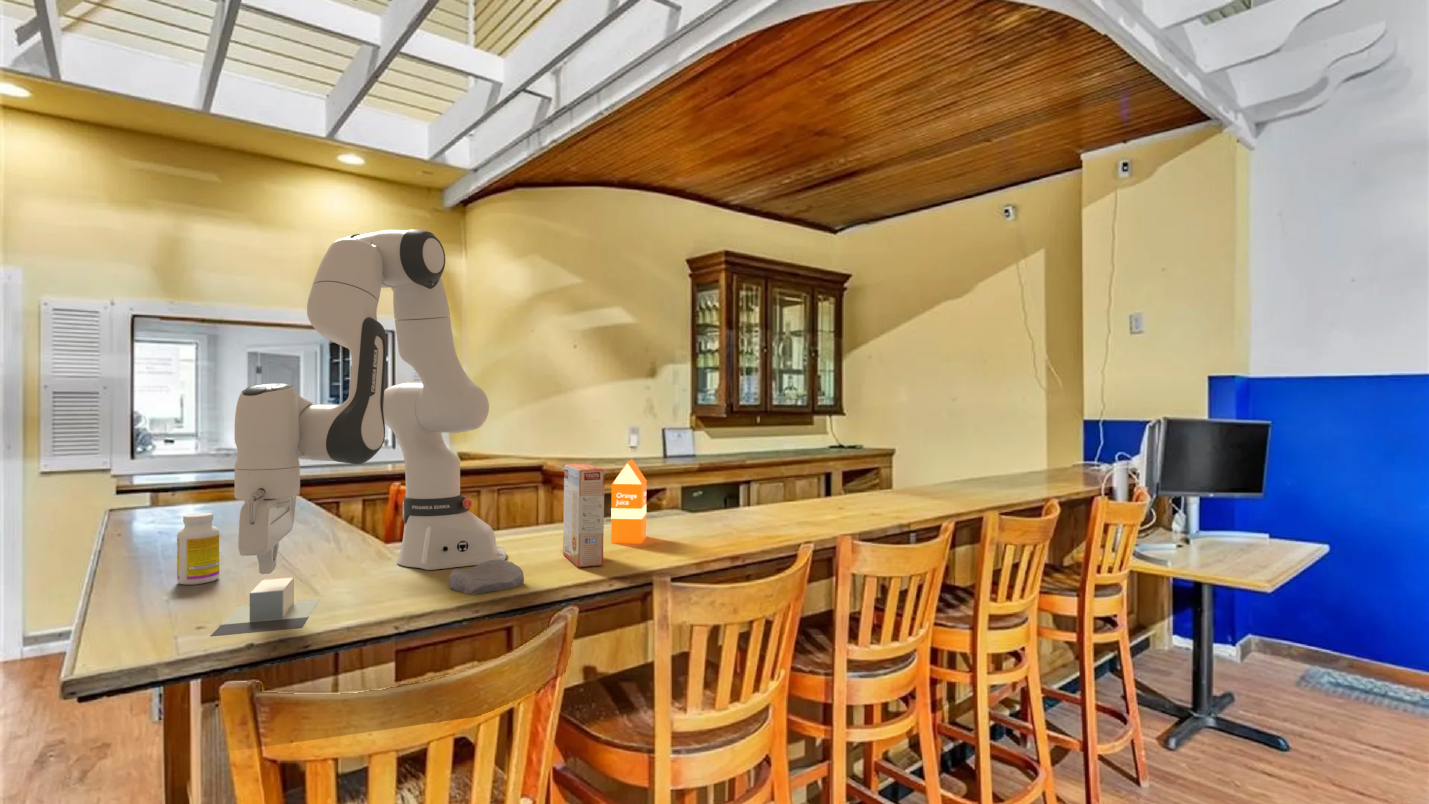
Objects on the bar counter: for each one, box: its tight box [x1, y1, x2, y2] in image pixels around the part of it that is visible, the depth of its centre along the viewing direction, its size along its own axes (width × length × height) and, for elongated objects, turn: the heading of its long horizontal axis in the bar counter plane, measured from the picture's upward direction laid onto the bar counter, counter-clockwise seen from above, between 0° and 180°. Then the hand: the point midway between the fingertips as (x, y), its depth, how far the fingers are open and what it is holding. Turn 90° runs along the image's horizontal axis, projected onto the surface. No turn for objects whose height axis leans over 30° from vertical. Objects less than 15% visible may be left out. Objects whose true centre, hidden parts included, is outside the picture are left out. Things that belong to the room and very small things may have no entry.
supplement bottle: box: [176, 512, 220, 586], centre depth 138 cm, size 7×7×13 cm
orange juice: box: [610, 458, 648, 544], centre depth 181 cm, size 8×9×20 cm
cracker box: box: [562, 463, 606, 568], centre depth 158 cm, size 14×6×21 cm, turn 25°
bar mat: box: [210, 599, 320, 637], centre depth 116 cm, size 12×16×1 cm
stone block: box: [448, 559, 525, 595], centre depth 137 cm, size 12×5×10 cm
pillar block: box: [249, 576, 295, 622], centre depth 118 cm, size 4×4×9 cm
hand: (267, 571), depth 114 cm, fingers closed
